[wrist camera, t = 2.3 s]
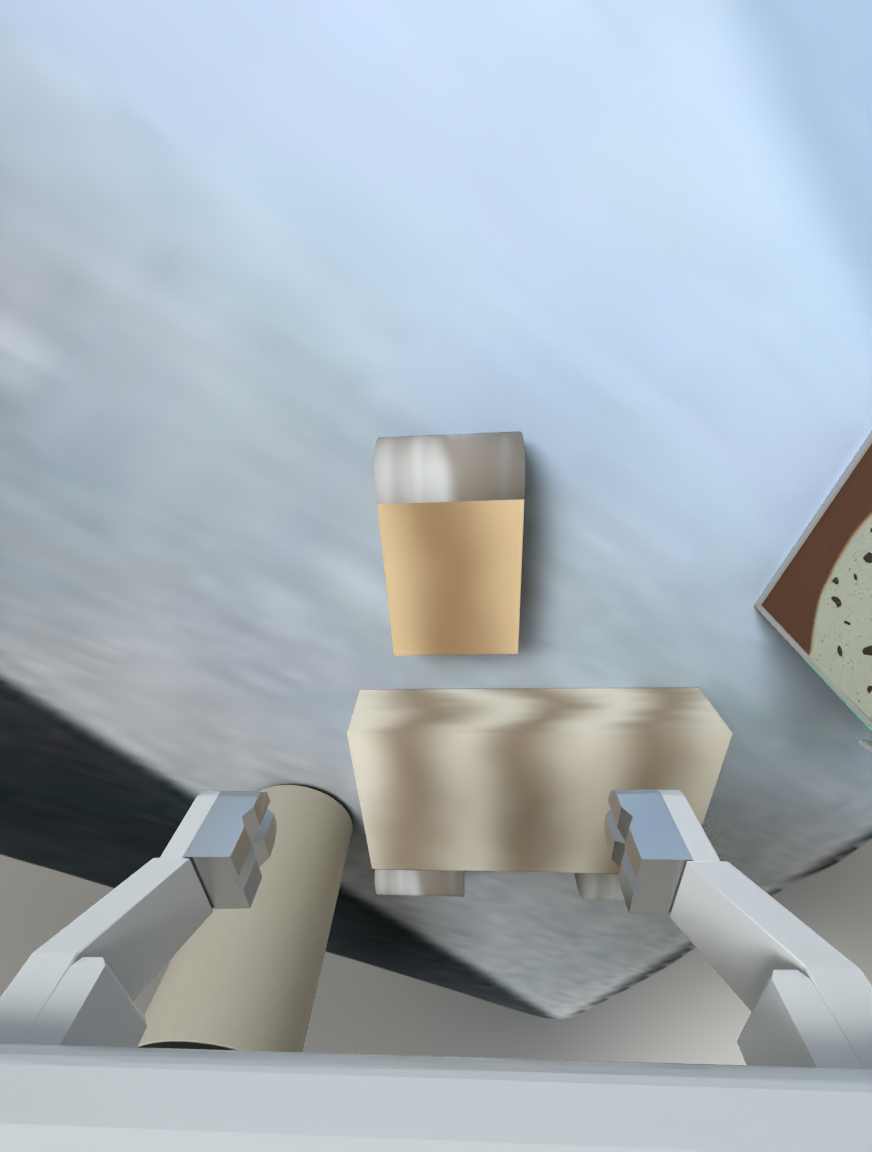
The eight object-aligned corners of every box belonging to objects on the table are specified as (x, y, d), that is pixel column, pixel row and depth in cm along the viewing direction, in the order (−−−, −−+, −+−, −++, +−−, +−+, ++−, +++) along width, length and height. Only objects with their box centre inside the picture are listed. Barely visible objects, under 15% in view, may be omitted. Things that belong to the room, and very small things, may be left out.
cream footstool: (699, 687, 26) (733, 734, 22) (653, 858, 33) (674, 913, 29) (360, 690, 27) (346, 734, 24) (386, 854, 34) (378, 905, 31)
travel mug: (224, 800, 32) (-15, 1245, 16) (312, 766, 30) (142, 1237, 14) (289, 861, 35) (143, 1290, 19) (374, 834, 33) (292, 1289, 17)
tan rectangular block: (516, 426, 20) (527, 438, 17) (510, 615, 24) (518, 655, 21) (384, 431, 20) (370, 445, 17) (402, 617, 25) (393, 656, 21)
